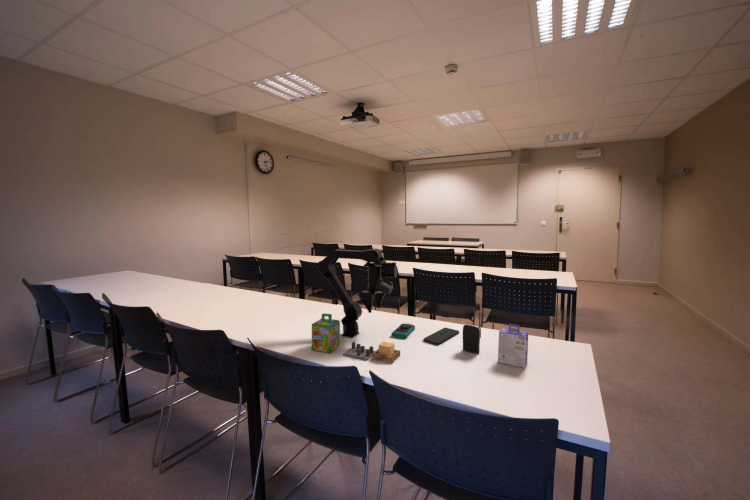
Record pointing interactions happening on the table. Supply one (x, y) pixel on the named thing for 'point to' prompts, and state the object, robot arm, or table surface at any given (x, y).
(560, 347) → the table surface
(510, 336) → the ink cartridge box
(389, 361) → the brown square tray
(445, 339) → the smart home device
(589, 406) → the table surface
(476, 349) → the battery charger
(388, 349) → the tan cardboard cube
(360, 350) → the board
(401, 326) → the digital multimeter
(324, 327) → the chalk box
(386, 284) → the robot arm
